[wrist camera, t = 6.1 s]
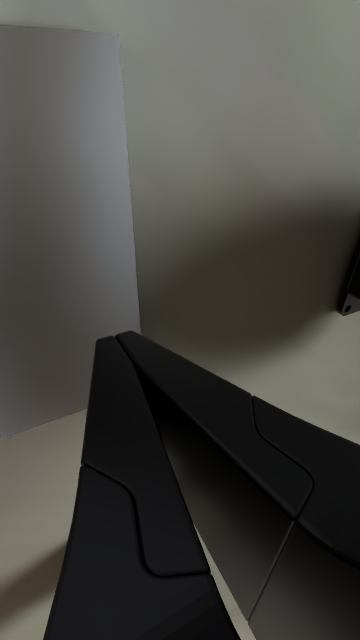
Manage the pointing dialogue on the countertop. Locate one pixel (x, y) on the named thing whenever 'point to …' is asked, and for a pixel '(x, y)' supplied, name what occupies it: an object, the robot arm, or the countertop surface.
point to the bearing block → (61, 218)
